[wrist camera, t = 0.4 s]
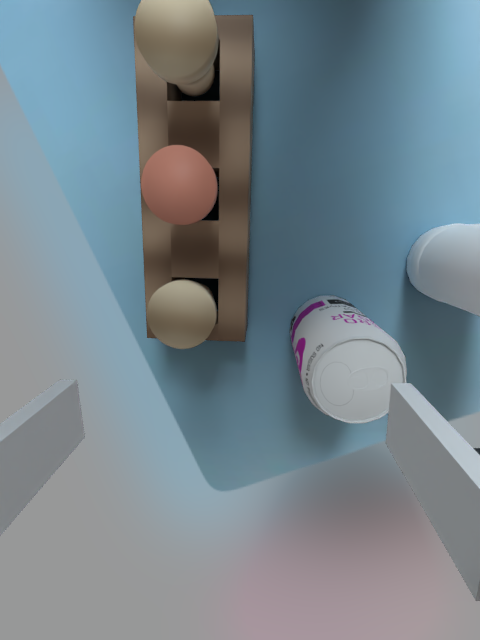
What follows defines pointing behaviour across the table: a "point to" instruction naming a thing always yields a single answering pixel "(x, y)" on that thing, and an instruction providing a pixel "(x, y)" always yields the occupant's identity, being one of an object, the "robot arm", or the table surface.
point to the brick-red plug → (179, 185)
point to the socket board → (228, 164)
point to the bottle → (448, 265)
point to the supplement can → (345, 360)
